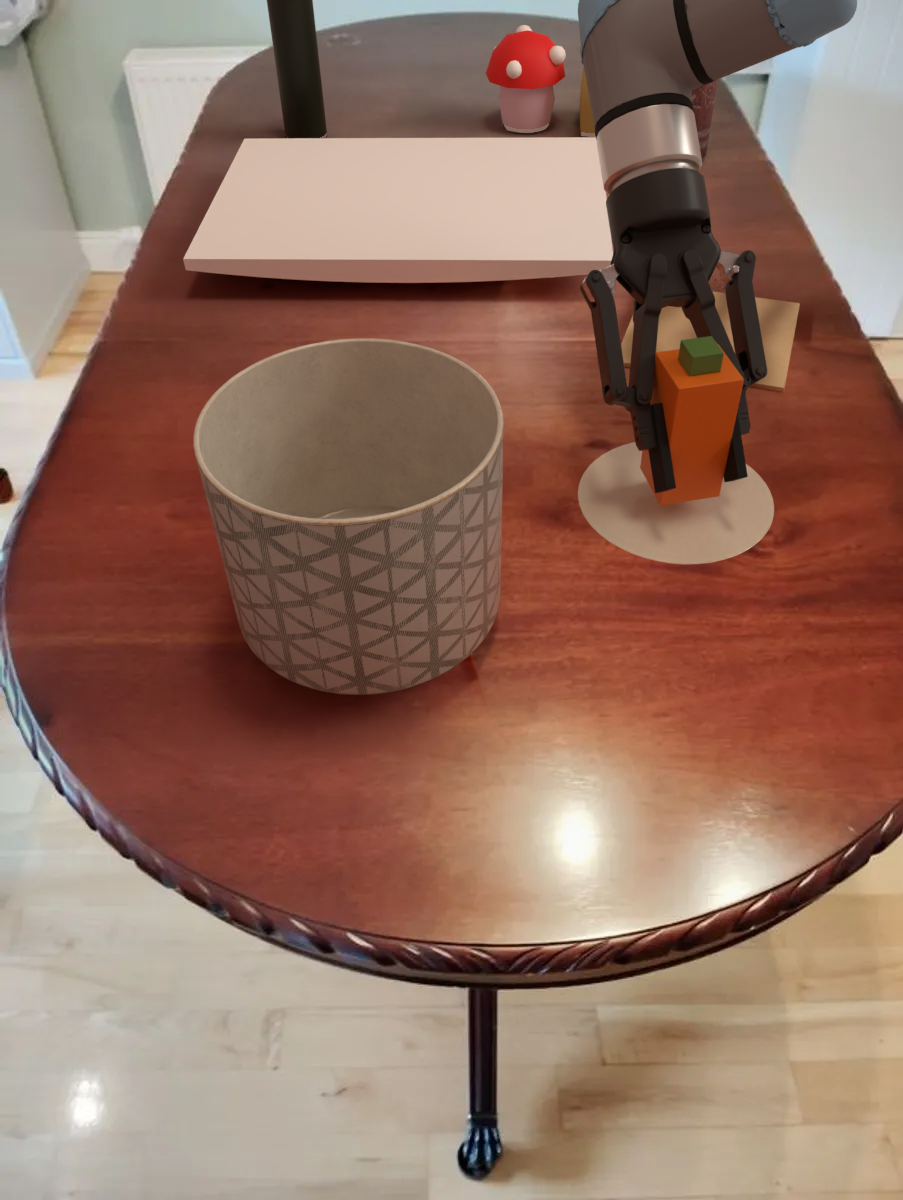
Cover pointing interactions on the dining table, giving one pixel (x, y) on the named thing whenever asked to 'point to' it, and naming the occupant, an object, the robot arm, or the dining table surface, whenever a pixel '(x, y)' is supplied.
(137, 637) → the dining table surface
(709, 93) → the can
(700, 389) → the carrot block
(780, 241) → the dining table surface
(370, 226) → the board
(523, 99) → the mushroom
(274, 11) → the wine bottle
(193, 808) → the dining table surface
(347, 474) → the planter
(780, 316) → the coaster
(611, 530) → the plate
